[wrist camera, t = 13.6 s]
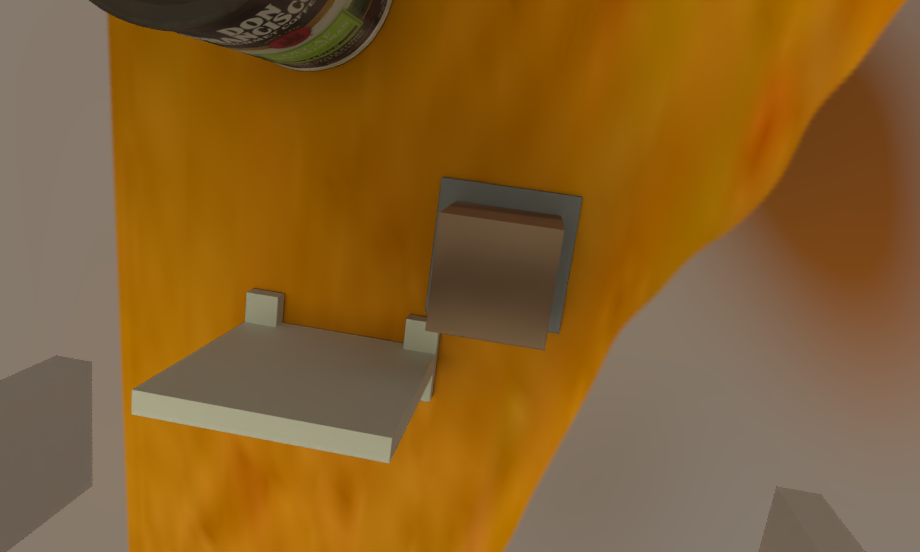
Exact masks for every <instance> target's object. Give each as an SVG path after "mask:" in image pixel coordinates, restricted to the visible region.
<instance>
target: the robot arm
mask: <svg viewBox="0 0 920 552" xmlns="http://www.w3.org/2000/svg"><path fill="white" fill-rule="evenodd" d="M91 486H92V362H89V361H83V360H78V359H73V358H67V357H62V356H54V357H52V358H50V359H48V360H45V361H43V362H41V363H38V364H36V365H34V366H32V367H29V368H27V369H25V370H23V371H20V372H18V373H16V374H14V375H11V376H9V377H7V378H5V379H2V380H0V552H7V551H8V550H9V549H11V548H12V547H13V546H15V545H16V544H17V543H19V542H20V541H21V540H23V539H24V538H25V537H26V536H28V535H29V534H30V533H32V532H33V531H34V530H35V529H37V528H38V527H39V526H41V525H42V524H43V523H44V522H46V521H47V520H48V519H50V518H51V517H52V516H54V515H55V514H56V513H58V512H59V511H60V510H61V509H63V508H64V507H65V506H67V505H68V504H69V503H71V502H72V501H73V500H75V499H76V498H77V497H78V496H80V495H81V494H82V493H84V492H85V491H86V490H88V489H89V488H90V487H91ZM759 552H865V551H864V549H863V548H862V547H861V545H860V544H859V543H858V542H857V540H856V539H855V538H854V536H853V535H852V534H851V532H850V531H849V530H848V528H847V527H846V526H845V525H844V524H843V522H842V521H841V519H840V518H839V517H838V516H837V514H836V513H835V512H834V510H833V509H832V508H831V506H830V505H829V504H828V503H827V502H826V500H825V499H824V497H823V496H822V495H821V494H816V493H810V492H804V491H799V490H794V489H788V488H782V487H776V490H775V494H774V497H773V501H772V505H771V509H770V512H769V516H768V519H767V523H766V527H765V530H764V534H763V537H762V541H761V545H760V548H759Z"/></svg>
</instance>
